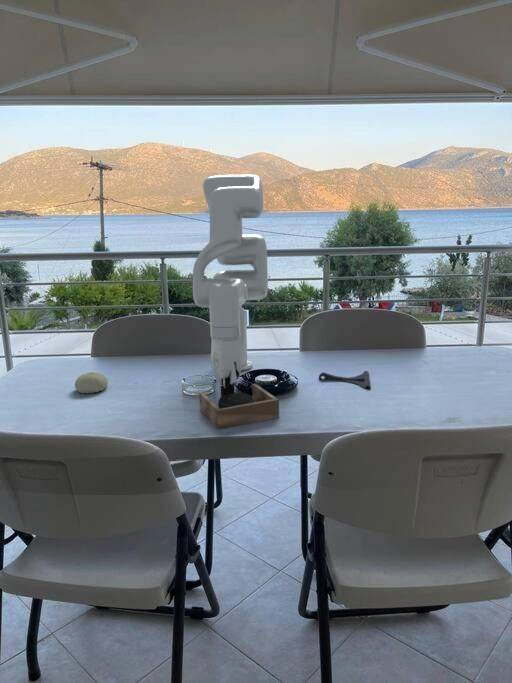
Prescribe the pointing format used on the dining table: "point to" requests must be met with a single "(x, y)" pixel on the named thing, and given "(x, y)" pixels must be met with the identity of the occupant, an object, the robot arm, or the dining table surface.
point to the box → (241, 409)
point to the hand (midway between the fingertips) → (227, 400)
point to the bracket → (349, 379)
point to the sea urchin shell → (91, 383)
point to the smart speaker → (234, 400)
